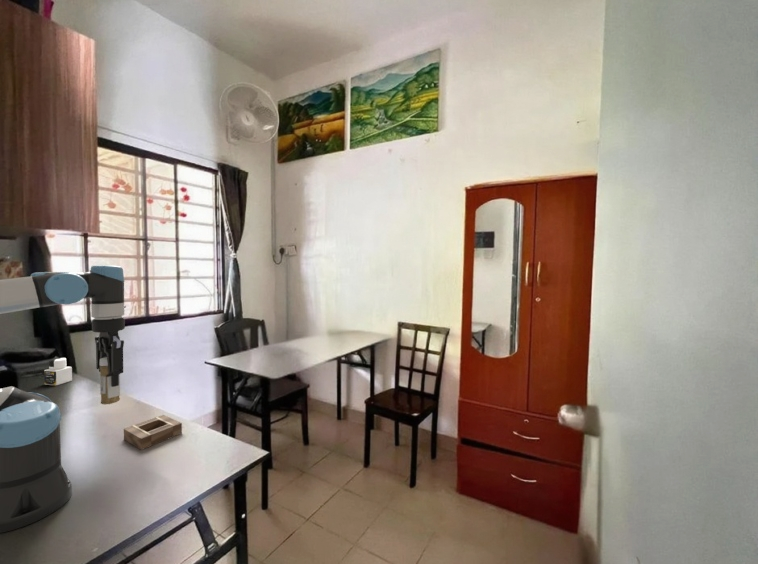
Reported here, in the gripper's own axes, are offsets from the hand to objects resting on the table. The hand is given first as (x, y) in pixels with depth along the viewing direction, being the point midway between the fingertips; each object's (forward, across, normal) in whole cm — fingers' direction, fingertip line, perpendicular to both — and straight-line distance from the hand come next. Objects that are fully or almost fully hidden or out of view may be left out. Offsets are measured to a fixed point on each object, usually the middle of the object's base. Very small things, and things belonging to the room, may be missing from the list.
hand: (110, 394), depth 97 cm
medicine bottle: (+19, +98, -13) cm, 100 cm away
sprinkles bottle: (+2, 0, 0) cm, 2 cm away
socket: (+18, +2, -12) cm, 22 cm away
